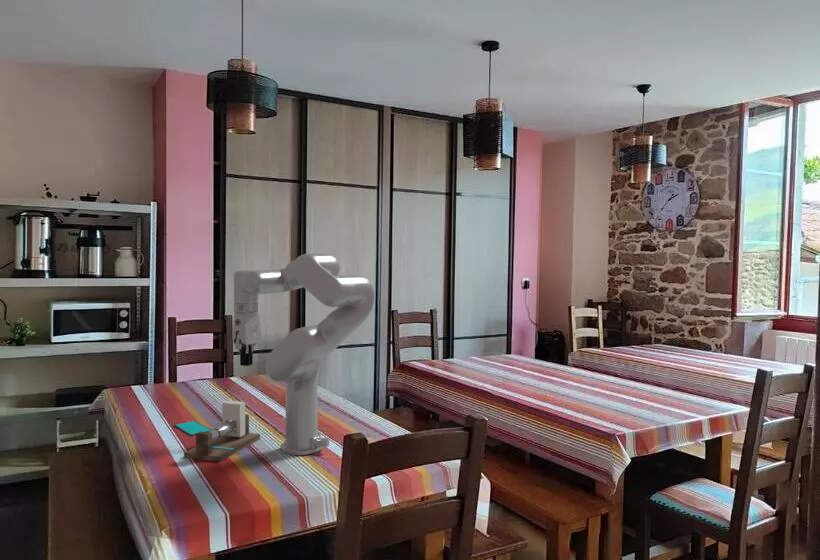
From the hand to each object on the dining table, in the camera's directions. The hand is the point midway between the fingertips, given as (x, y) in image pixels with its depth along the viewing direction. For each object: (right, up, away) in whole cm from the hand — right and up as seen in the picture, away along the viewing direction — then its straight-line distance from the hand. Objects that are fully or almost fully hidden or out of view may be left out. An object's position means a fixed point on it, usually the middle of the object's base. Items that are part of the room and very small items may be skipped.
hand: (246, 364), depth 191 cm
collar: (-2, -21, -6) cm, 22 cm away
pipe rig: (-4, -24, -11) cm, 27 cm away
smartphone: (-20, -23, +8) cm, 32 cm away
